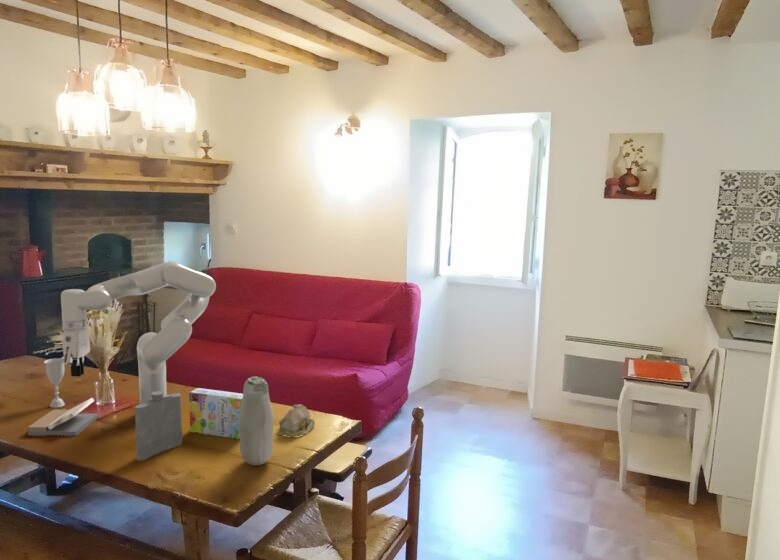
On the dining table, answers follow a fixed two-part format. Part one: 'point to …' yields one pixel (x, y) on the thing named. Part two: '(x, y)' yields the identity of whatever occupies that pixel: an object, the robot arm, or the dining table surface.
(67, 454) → the dining table surface
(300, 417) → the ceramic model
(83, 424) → the floor sample board
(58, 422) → the pale plank
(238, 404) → the snack box
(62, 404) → the chalice
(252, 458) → the pale grey bottle
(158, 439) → the hip flask
